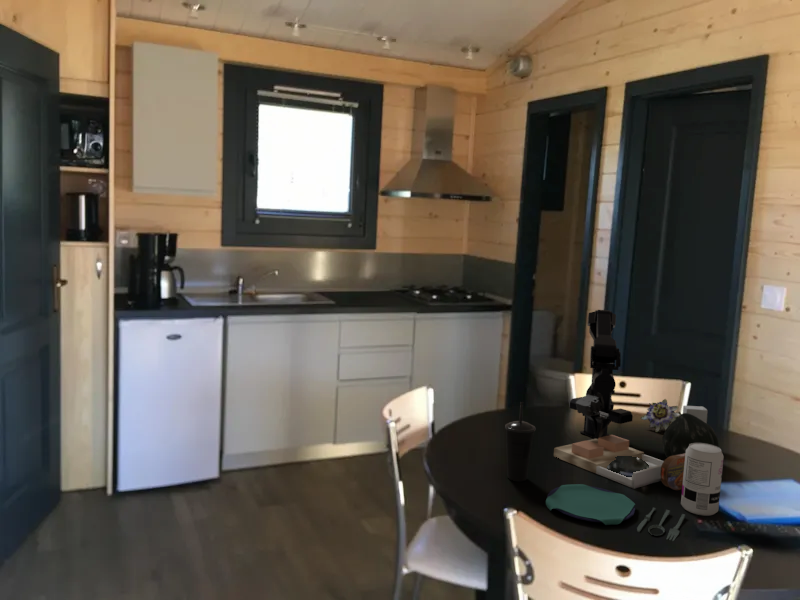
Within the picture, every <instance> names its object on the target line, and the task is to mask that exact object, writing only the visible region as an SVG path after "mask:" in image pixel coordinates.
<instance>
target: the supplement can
mask: <svg viewBox="0 0 800 600" xmlns="http://www.w3.org/2000/svg"><path fill="white" fill-rule="evenodd" d="M724 458H725V457H724V454H723V451H722V449H721V448H720V447H717V446H714V445H710V444H705V443H691V444H689V447H688V448H687V449H686V453H685V464H684V474H683V485H682V489H681V496H680V497H681V499H680V505H681V506H682V508H683V509H684V511H685V510H686V511H687V512H689V513H692V514H694V515H697V516H698V515H699V516H713V515H714V516H715V514H716V513H718V512H719V508H720V500H721V499H720V496H721V487H722V477H723V469H724V468H723V467H724Z"/></svg>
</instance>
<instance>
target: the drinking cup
mask: <svg viewBox="0 0 800 600" xmlns="http://www.w3.org/2000/svg"><path fill="white" fill-rule="evenodd" d="M519 406H520V407H519V420H514V421H510V422H507V423H505V426H504V428H505V431H506V434H505V435H506V436H505V438H506V464H507V465H506V467H507V468H506V470H507V479H508V478H509V480H510V481H512V480H513V482H525V481H527V478H528V472H529V465H530V460H531V459H530V458H531V455H532V454H531V453H532V447H533V441H534V436H535V435H534V434H535V431H536V426H535V425H533V424H531V423H529V422H527V421H524V420H523V410H524V401H520V405H519Z"/></svg>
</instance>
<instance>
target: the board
mask: <svg viewBox="0 0 800 600" xmlns="http://www.w3.org/2000/svg"><path fill="white" fill-rule="evenodd" d="M587 441H590V442H593V443H595V444H598V439H596V438H592V439H588V440H587ZM572 444H573V443H569V444H566V445H560V446H556V447H554V449H553V457H554V458H556V457H557V458H556V459H558V458H559V459H558V460H561V461H564V462H566V463H569V464H572V465H573V466H576V467H578V468H581V469H584V470H586V471H589V472H591V473H594V474H596V467H597V466H601V467H603V468H606V469H607V466H608V465H609V464H610V463H611V462H612V461H614V460H616V458H615V457H617V456H632V457H638V458H640V459H642V454H645V452H644V451H641V450H638V449H635V448H633V447H630V446H629V449H627V450H623V451H619V452H612V451H610V450H607V449H604V451H603V455H602V456H598V457H594V458H590V459H588V458H585V457H582V456H580V455H577V454H574V453H572Z"/></svg>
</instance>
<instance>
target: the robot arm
mask: <svg viewBox="0 0 800 600" xmlns="http://www.w3.org/2000/svg"><path fill="white" fill-rule="evenodd" d="M616 322H617V314H616V313H613V312H612V311H611V310H607V309H596V310H595V311H591V312H588V313H587V324H586V325H587V327H588V328H589V330H588V333H589V334H590V337H591V338H592V339H593V345H591V346H590V355H589V367H590V369H591V371H592V372H591V384H590V386H589V387H588V388H587V390H586V393H585V395H584V396H579V397H574V398H571V399H570V400H569V403H568V405H569V406H568V408H569V409H572V410H575V411H577V413H578V414H581V415H582V417H584V420H583V421H584V422H583V430H581V431H580V434H581V433H582V435H584V434H585V436H587V435H588V436H587V437H591V438H592V439H598V438H599V437H604V436H608V435H610V433H608V426H609V425H610V423H611V422H612V423H615V424H619V425H622V424H626V423H631V422H633V418H634V417H633V413H632V412H631V411H630V410H628V409H624V408H617V409H614V407H615V404H614V403H613V399H612V395H615V393H616V390H615V389H616V380H615V377H614V371H619V368H621V364H622V363H621V360H622V359H621V357H622V356H621V351H620V348H618V347H617V341H616V340H615V339H614V338H613V337H612V333H613V330H614V329H615V327H616V325H617V324H616Z"/></svg>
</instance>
